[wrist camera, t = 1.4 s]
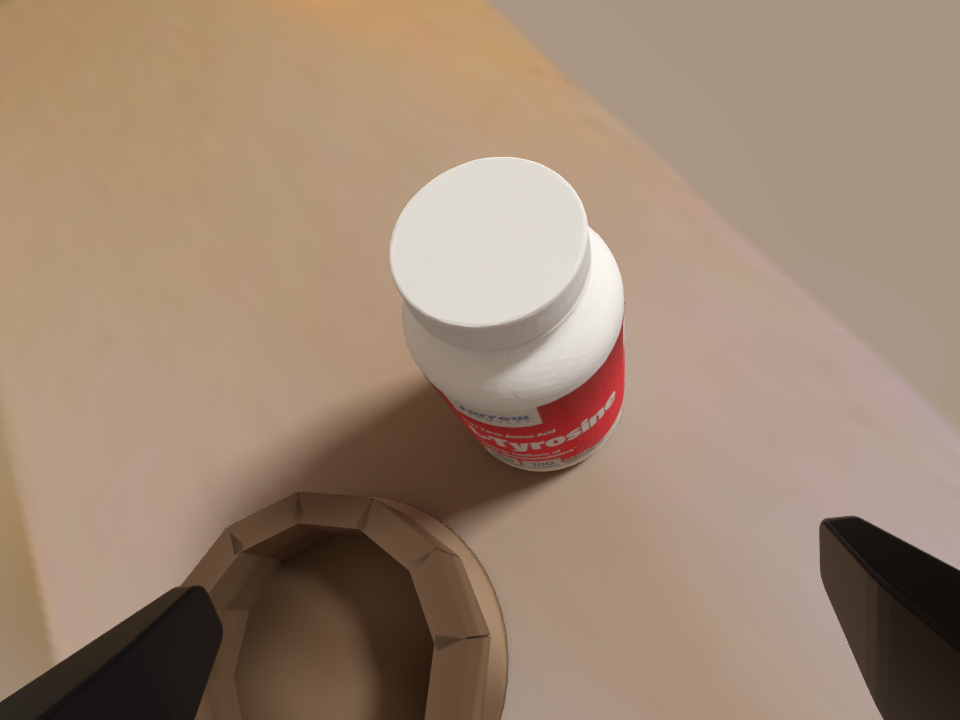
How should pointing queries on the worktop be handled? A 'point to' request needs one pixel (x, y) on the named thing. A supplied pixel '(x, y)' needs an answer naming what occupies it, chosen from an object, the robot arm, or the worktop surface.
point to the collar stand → (351, 616)
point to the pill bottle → (513, 310)
